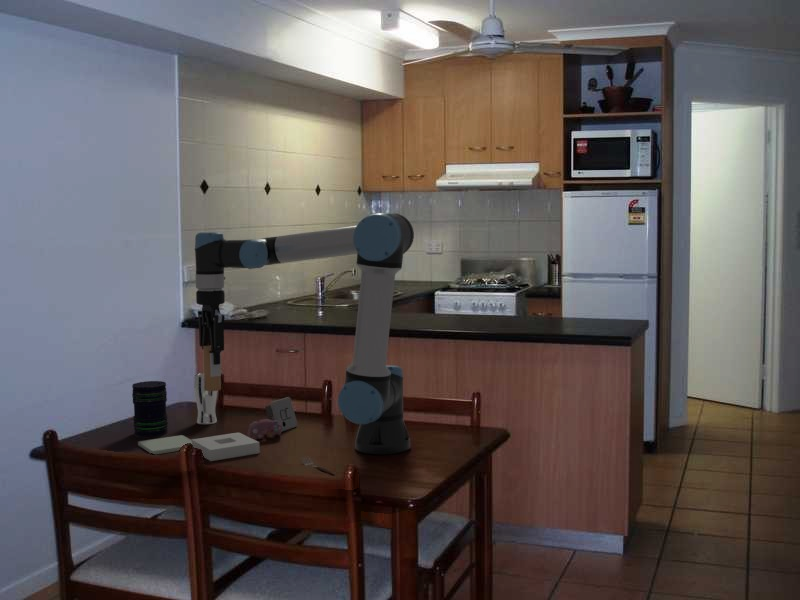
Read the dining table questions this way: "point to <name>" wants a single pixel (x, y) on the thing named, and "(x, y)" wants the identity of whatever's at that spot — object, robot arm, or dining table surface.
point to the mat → (164, 444)
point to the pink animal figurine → (264, 428)
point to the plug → (209, 381)
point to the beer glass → (204, 402)
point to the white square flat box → (226, 446)
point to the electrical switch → (282, 413)
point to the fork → (316, 466)
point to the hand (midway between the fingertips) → (212, 374)
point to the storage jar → (150, 409)
